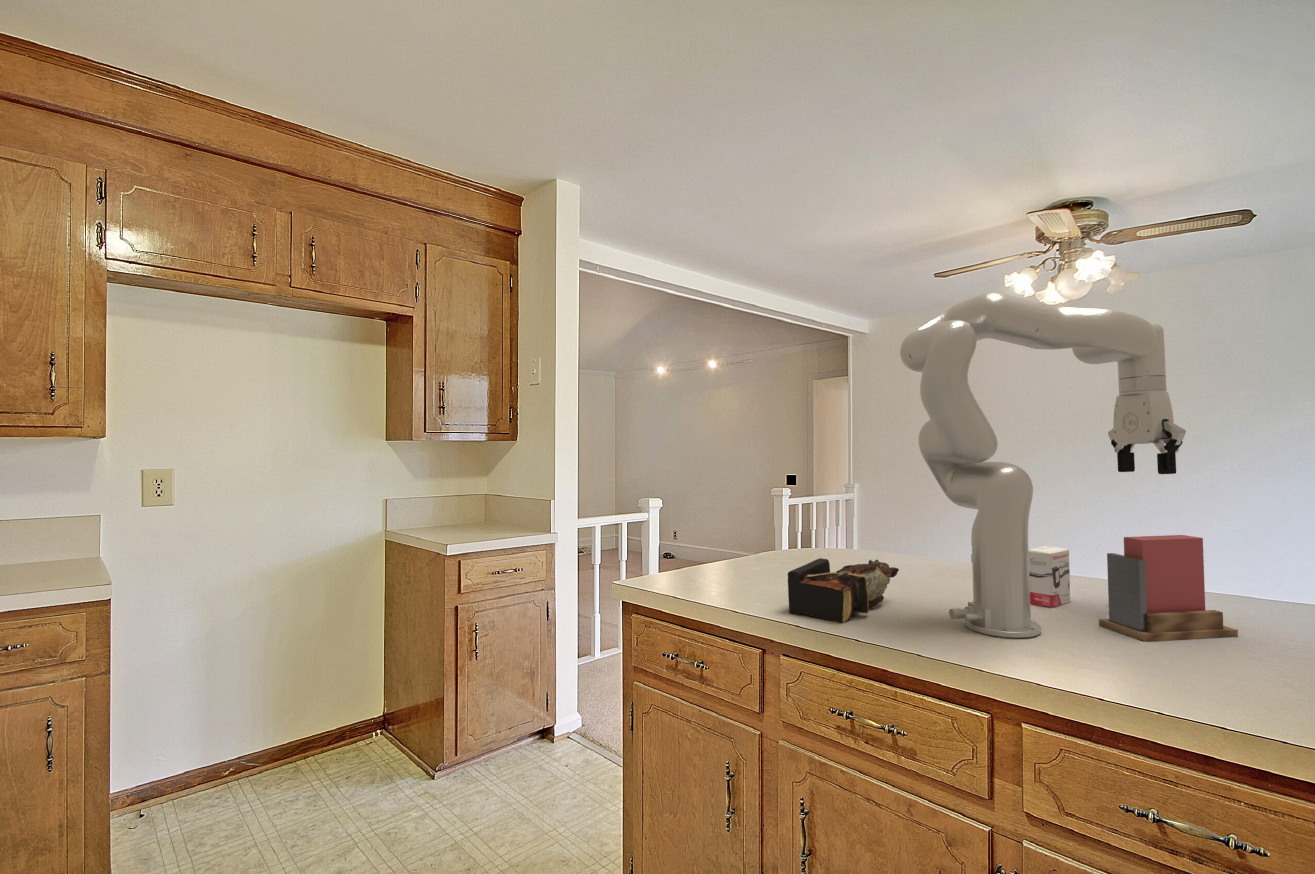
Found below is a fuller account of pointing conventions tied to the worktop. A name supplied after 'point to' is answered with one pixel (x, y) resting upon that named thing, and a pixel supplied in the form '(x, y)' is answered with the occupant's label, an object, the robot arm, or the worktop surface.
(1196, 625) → the book rack
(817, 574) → the bookend
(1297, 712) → the worktop surface
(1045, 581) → the ink box
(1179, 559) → the book
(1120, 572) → the steel bookend
